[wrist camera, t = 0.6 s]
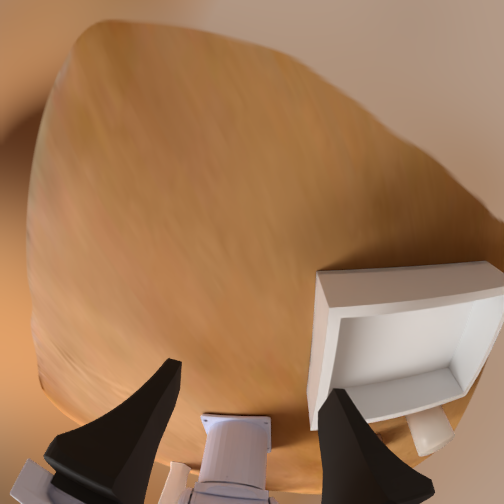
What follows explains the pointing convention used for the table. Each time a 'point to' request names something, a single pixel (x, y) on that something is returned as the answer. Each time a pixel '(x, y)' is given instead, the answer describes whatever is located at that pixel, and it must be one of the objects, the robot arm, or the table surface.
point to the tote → (402, 335)
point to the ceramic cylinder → (430, 430)
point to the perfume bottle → (174, 483)
